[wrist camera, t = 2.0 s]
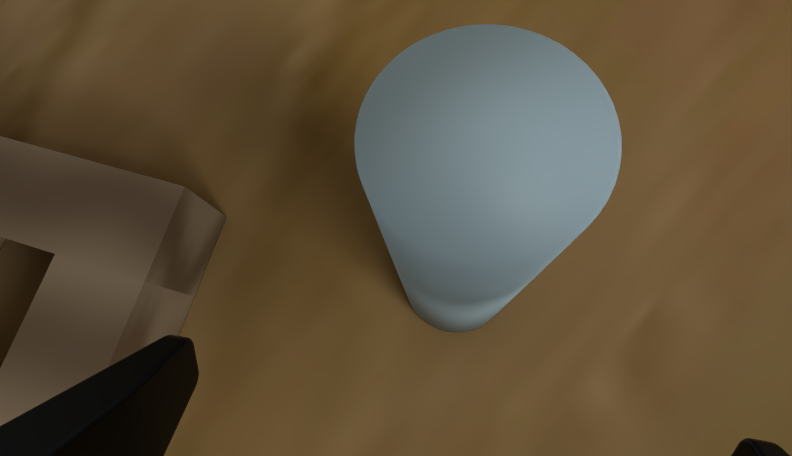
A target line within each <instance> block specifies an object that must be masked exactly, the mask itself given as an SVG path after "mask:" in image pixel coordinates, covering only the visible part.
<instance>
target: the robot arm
mask: <svg viewBox="0 0 792 456" xmlns="http://www.w3.org/2000/svg"><path fill="white" fill-rule="evenodd" d="M198 375H199V371H198V365H197V360H196V355H195V349H194V344H193V342H192V340H191V339H189V338H187V337H181V336H176V335H167V336H164V337H162V338H160V339H158V340H156V341H155V342H153V343H151V344H149V345H147V346H145V347H144V348H142V349H140V350H138V351H136V352H135V353H133V354H131V355H129V356H127V357H125V358H124V359H122V360H120V361H118V362H116V363H114V364H113V365H111V366H109V367H107V368H105V369H103V370H102V371H100V372H98V373H96V374H94V375H93V376H91V377H89V378H87V379H85V380H83V381H82V382H80V383H78V384H76V385H74V386H72V387H71V388H69V389H67V390H65V391H63V392H62V393H60V394H58V395H56V396H54V397H52V398H51V399H49V400H47V401H45V402H43V403H41V404H40V405H38V406H36V407H34V408H32V409H31V410H29V411H27V412H25V413H23V414H21V415H20V416H18V417H16V418H14V419H12V420H10V421H9V422H7V423H5V424H3V425H1V426H0V456H164V454H165V452H166V450H167V447H168V445H169V443H170V441H171V439H172V437H173V434H174V432H175V430H176V428H177V426H178V424H179V421H180V419H181V417H182V415H183V413H184V411H185V408H186V406H187V404H188V402H189V400H190V398H191V395H192V393H193V391H194V389H195V387H196V384H197V381H198ZM731 456H790V455H789V454H788V453H786V452H785V451H784V450H783V449H782V448H781V447H779V446H778V445H776V444H774V443H772V442H767V441H762V440H756V439H751V438H746V439H744V440H742V441H741V442H740V443H739V444H738V446H737V447H736V449H735V451H734V452H733V454H732V455H731Z"/></svg>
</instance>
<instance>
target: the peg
mask: <svg viewBox="0 0 792 456" xmlns="http://www.w3.org/2000/svg"><path fill="white" fill-rule="evenodd" d="M354 144H355V159H356V165H357V170H358V173H359V177H360V180H361V183H362V186H363V188H364V191H365V193H366V196H367V198H368V201H369V203H370V206H371V208H372V211H373V213H374V216H375V218H376V221H377V223H378V226H379V228H380V231H381V233H382V236H383V238H384V240H385V243H386V245H387V248H388V250H389V253H390V255H391V258H392V260H393V263H394V265H395V268H396V270H397V273H398V275H399V278H400V280H401V283H402V285H403V288H404V290H405V293H406V295H407V298H408V300H409V302H410V304H411V306H412V308H413V309H414V311H415V312H416V313H417V315H418V316H419V317H420V318H421V319H423V320H424V321H425V322H426V323H428V324H429V325H431V326H433V327H435V328H437V329H440V330H443V331H448V332H465V331H470V330H473V329H476V328H478V327H480V326H482V325H484V324H485V323H487V322H488V321H489V320H490V319H491V318H493V317H494V316H495V315H496V314H497V313H498V312H499V311H500V310H501V309H502V308H503V307H504V306H505V305H506V304H507V303H508V302H509V301H510V300H512V299H513V298H514V297H515V296H516V295H517V294H518V293H519V292H520V291H521V290H522V289H523V288H524V287H525V286H526V285H527V284H528V283H529V282H530V281H531V280H533V279H534V278H535V277H536V276H537V275H538V274H539V273H540V272H541V271H542V270H543V269H544V268H545V267H546V266H547V265H548V264H549V263H550V262H551V261H552V260H554V259H555V258H556V257H557V256H558V255H559V254H560V253H561V252H562V251H563V250H564V249H565V248H566V247H567V246H568V245H569V244H570V243H571V242H572V241H573V240H575V239H576V238H577V237H578V236H579V235H580V234H581V233H582V232H583V231H584V230H585V229H586V228H587V227H588V226H589V225H590V224H591V223H592V221H593V220H594V219H595V218H596V217H597V216H598V215H599V213H600V212H601V210H602V209H603V207H604V205H605V204H606V202H607V201H608V199H609V197H610V195H611V192H612V190H613V188H614V186H615V183H616V180H617V176H618V172H619V169H620V162H621V154H622V144H621V131H620V125H619V120H618V117H617V114H616V111H615V107H614V104H613V102H612V100H611V98H610V96H609V94H608V92H607V90H606V89H605V87H604V86H603V84H602V83H601V81H600V80H599V78H598V77H597V76H596V74H595V73H594V72H593V71H592V70H591V69H590V68H589V67H588V65H587V64H586V63H584V62H583V61H582V60H581V59H580V58H579V57H578V56H577V55H575V54H574V53H573V52H571V51H570V50H568V49H567V48H565V47H564V46H562V45H561V44H559V43H557V42H555V41H553V40H551V39H549V38H548V37H545V36H543V35H540V34H537V33H535V32H532V31H529V30H525V29H521V28H517V27H512V26H505V25H492V24H479V25H467V26H462V27H456V28H451V29H448V30H445V31H442V32H438V33H435V34H433V35H431V36H428V37H426V38H424V39H422V40H420V41H418V42H416V43H415V44H413V45H411V46H410V47H408V48H406V49H405V50H404V51H403V52H401V53H400V54H399V55H397V56H396V57H395V58H394V59H393V60H392V61H391V62H390V63H389V64H388V65H387V66H386V67H385V68H384V69H383V70H382V71H381V72H380V74H379V75H378V76H377V78H376V79H375V80H374V82H373V83H372V85H371V87H370V88H369V90H368V92H367V93H366V96H365V98H364V100H363V103H362V105H361V107H360V111H359V115H358V118H357V122H356V129H355V137H354Z"/></svg>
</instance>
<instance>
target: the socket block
mask: <svg viewBox="0 0 792 456" xmlns="http://www.w3.org/2000/svg"><path fill="white" fill-rule="evenodd" d="M225 218H226V216H225V215H223V214H222V213H221V212H219V211H218V210H216V209H215V208H214V207H212V206H211V205H210V204H208V203H207V202H206V201H204V200H203V199H201V198H200V197H199V196H197V195H196V194H195V193H193V192H192V191H191V190H189V189H188V188H186V187H185V186H182V185H178V184H174V183H171V182H167V181H163V180H160V179H156V178H152V177H149V176H145V175H141V174H138V173H134V172H130V171H127V170H123V169H119V168H116V167H112V166H108V165H105V164H101V163H97V162H94V161H90V160H86V159H83V158H79V157H75V156H72V155H68V154H64V153H61V152H57V151H54V150H50V149H46V148H43V147H39V146H35V145H32V144H28V143H24V142H21V141H17V140H13V139H10V138H6V137H2V136H0V248H1V246H2V244H3V242H4V240H5V239H8V240H12V241H15V242H18V243H21V244H25V245H28V246H31V247H34V248H38V249H41V250H44V251H47V252H50V253H54V254H55V255H54V257H53V259H52V261H51V263H50V265H49V267H48V269H47V272H46V274H45V276H44V278H43V280H42V282H41V284H40V286H39V288H38V290H37V292H36V294H35V297H34V299H33V301H32V303H31V305H30V307H29V309H28V311H27V313H26V315H25V317H24V320H23V322H22V324H21V326H20V328H19V330H18V332H17V334H16V336H15V338H14V340H13V342H12V345H11V347H10V349H9V351H8V353H7V355H6V357H5V359H4V361H3V363H2V365H1V368H0V426H1V425H3V424H5V423H7V422H9V421H10V420H12V419H14V418H16V417H18V416H20V415H21V414H23V413H25V412H27V411H29V410H31V409H32V408H34V407H36V406H38V405H40V404H41V403H43V402H45V401H47V400H49V399H51V398H52V397H54V396H56V395H58V394H60V393H62V392H63V391H65V390H67V389H69V388H71V387H72V386H74V385H76V384H78V383H80V382H82V381H83V380H85V379H87V378H89V377H91V376H93V375H94V374H96V373H98V372H100V371H102V370H103V369H105V368H107V367H109V366H111V365H113V364H114V363H116V362H118V361H120V360H122V359H124V358H125V357H127V356H129V355H131V354H133V353H135V352H136V351H138V350H140V349H142V348H144V347H145V346H147V345H149V344H151V343H153V342H155V341H156V340H158V339H160V338H162V337H164V336H167V335H176V336H179V334H180V331H181V329H182V326H183V324H184V321H185V319H186V316H187V314H188V311H189V309H190V306H191V304H192V301H193V299H194V296H195V294H196V291H197V289H198V286H199V284H200V281H201V279H202V276H203V274H204V271H205V269H206V266H207V264H208V261H209V259H210V256H211V254H212V251H213V249H214V246H215V244H216V241H217V239H218V236H219V233H220V231H221V228H222V226H223V223H224V221H225Z"/></svg>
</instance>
